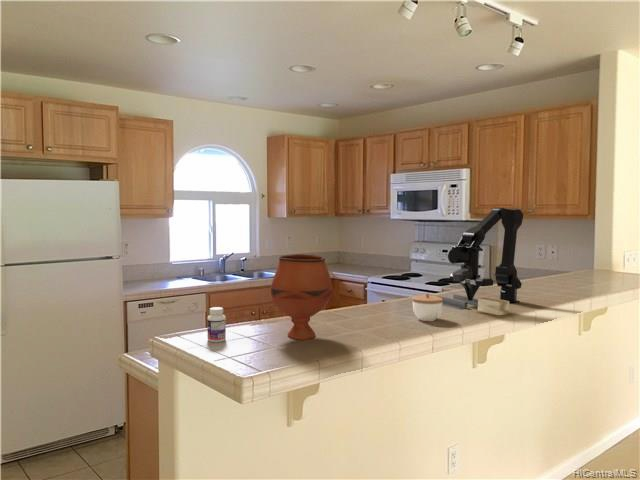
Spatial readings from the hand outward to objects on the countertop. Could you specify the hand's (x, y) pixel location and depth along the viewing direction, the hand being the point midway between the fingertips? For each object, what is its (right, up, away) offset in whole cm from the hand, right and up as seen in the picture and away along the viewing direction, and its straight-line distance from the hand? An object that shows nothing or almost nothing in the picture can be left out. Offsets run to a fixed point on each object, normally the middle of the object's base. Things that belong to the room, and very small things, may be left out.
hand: (470, 300), depth 208 cm
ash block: (+6, -4, -10) cm, 12 cm away
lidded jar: (-22, -4, -23) cm, 33 cm away
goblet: (-67, -6, -48) cm, 83 cm away
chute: (-3, -2, +5) cm, 6 cm away
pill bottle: (-92, -6, -54) cm, 107 cm away
